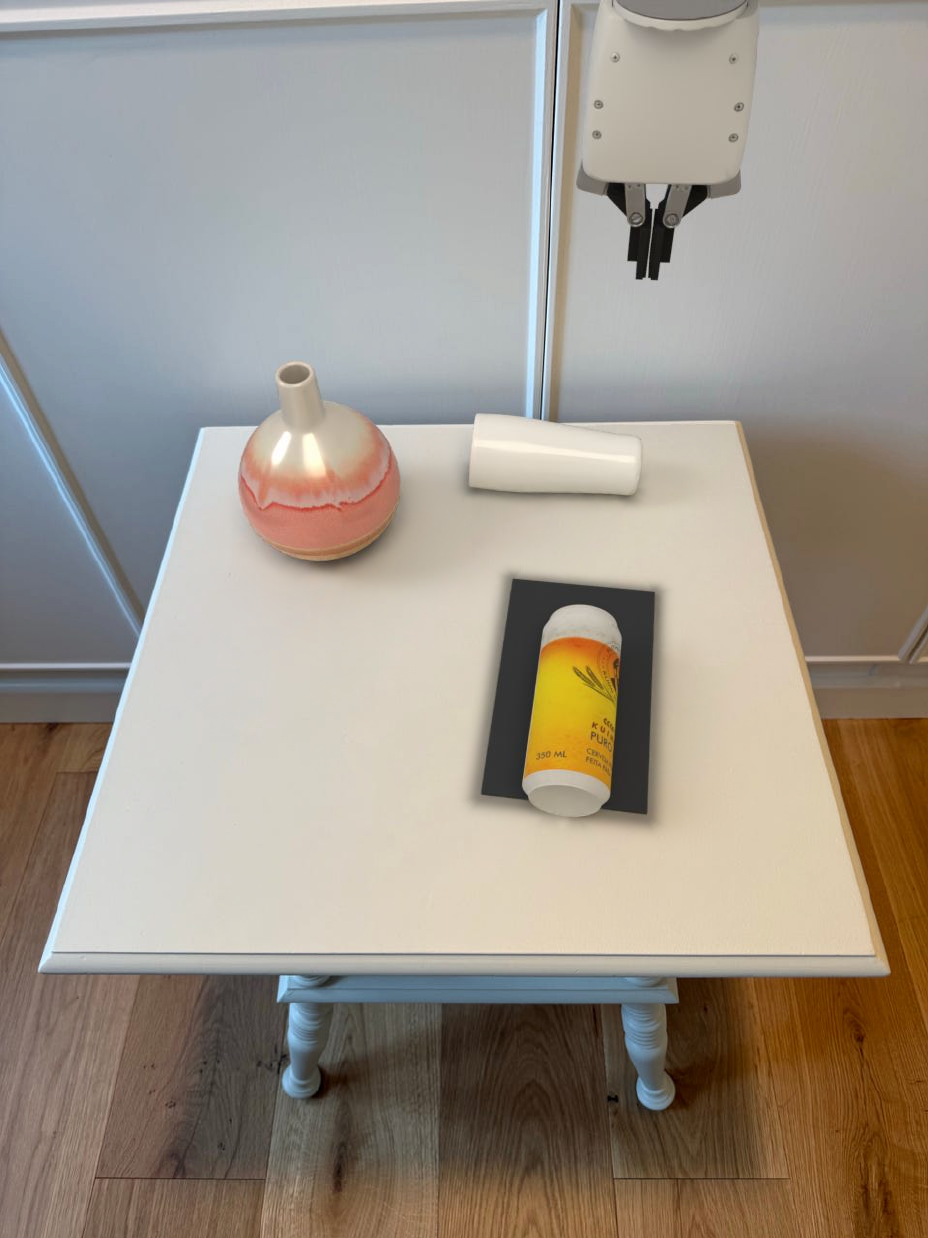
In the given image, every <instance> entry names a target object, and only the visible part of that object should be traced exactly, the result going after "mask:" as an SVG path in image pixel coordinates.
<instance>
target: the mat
mask: <svg viewBox="0 0 928 1238" xmlns="http://www.w3.org/2000/svg"><path fill="white" fill-rule="evenodd" d="M509 595H510V596H509V603H508V609H507V615H506V623H505V628H504V635H503V641H502V642H503V643H502V649H501V657H500V661H499V670H498V676H497V682H496V690H495V696H494V701H493V702H494V703H493V709H492V710H493V711H492V716H491V722H490V723H491V724H490V731H489V737H488V742H487V743H488V745H487V750H486V758H485V765H484V771H483V778H482V784H481V790H480V795H481V796H482V795H483V796H490V797H498V798H506V799H507V798H508V799H516V800H523V801H529V798H528V795H527V794H526V793H525V791H524V790H523V787H522V782H523V775H524V768H525V760H526V753H527V745H528V738H529V730H530V723H531V716H532V708H533V701H534V693H535V686H536V679H537V671H538V664H539V656H540V649H541V641H542V634H543V629H544V627H545V625H546V624H547V623H548V621H549V620H550V617H551V616H552V614H553V613H554V612H555V611H557V610H558V609H560V608H563V607H566V606H570V605H589V606H594V607H597V608H600V609H602V610H604V611H606V612H608V613H609V614H610V615H611V616H612V617H613V618H614V619H615V621H616V623H617V627H618V629H619V631H620V634H621V637H622V641H621V655H620V668H619V681H618V695H617V708H616V722H615V735H614V749H613V762H612V776H611V789H610V797H609V799H608V800H607V802H605V803H604V804H603V805H602V806H601V808H600V809H599V810H606V811H612V812H613V811H614V812H623V813H630V814H631V813H632V814H637V815H639V814H640V815H647V814H648V802H649V801H648V799H649V776H650V775H649V774H650V773H649V772H650V747H651V746H650V745H651V744H650V742H651V719H652V718H651V715H652V689H653V688H652V687H653V657H654V630H655V628H654V627H655V602H656V601H655V599H656V591H653V590H651V591H650V590H642V589H641V590H640V589H629V588H619V587H607V586H597V585H595V586H594V585H587V584H586V585H585V584H576V583H564V582H555V581H554V582H553V581H546V580H545V581H543V580H533V579H523V578H512V581H511V589H510V594H509Z"/></svg>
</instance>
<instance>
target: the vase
mask: <svg viewBox="0 0 928 1238" xmlns="http://www.w3.org/2000/svg"><path fill="white" fill-rule="evenodd" d="M316 373H317V372H316V370H315V368H314V367H313V366H312V365H311V364H310V363H308V362H305V361H303V360H302V361H301V360H293V361H289V362H286V363H284V364H282V365H281V366H279V367H278V368H277V369H276V371H275V374H274V382H275V387H276V391H277V396H278V401H279V406H280V408H279V409H278V410H275V411H274V412H272V414H270V415H269V416H268V417H266V419H264V420H263V421H262V422H261V423H260V424H259V425H258V426H257V427H256V428H255V430H254V431H253V432H252V434H251V435H250V437H249V438H248V440H247V441H246V443H245V446H244V448H243V451H242V454H241V456H240V460H239V465H238V471H237V489H238V496H239V501H240V504H241V508H242V511H243V513H244V515H245V517H246V519H247V521H248V523H249V525H250V527H251V528H252V529H253V530H254V532H255V533H256V534H257V536H259V537H260V538H261V540H263V541H264V542H265V543H266V544H268V545H269V546H270V547H271V548H273V549H275V550H277V551H279V552H280V553H282V554H285V555H288V556H290V557H293V558H295V559H299V560H303V561H304V560H305V561H314V562H324V561H325V562H327V561H334V560H339V559H343V558H346V557H349V556H351V555H353V554H357V553H358V552H360V551H362V550H364V549H365V548H367V547H368V546H369V545H371V544H372V543H374V541H376V540H377V539H378V538H379V537H380V536H381V535H382V533H384V532H385V531H386V529H387V527H388V526H389V524H390V523H391V522H392V520H393V518H394V516H395V514H396V511H397V509H398V505H399V501H400V497H401V488H402V487H401V484H402V483H401V474H400V468H399V461H398V460H397V457H396V454H395V452H394V449H393V447H392V445H391V444H390V442H389V440H388V439H387V437H386V436H385V434H384V433H383V432H382V430H381V429H380V427H378V426H377V425H376V423H374V422H373V421H372V420H371V419H370V418H369V417H367V416H366V415H364V414H363V413H361V412H359V411H358V410H356V409H354V408H352V407H350V406H348V405H345V404H342V403H338V402H335V401H331V400H324V399H323V398H322V394H321V389H320V385H319V382H318V377H317V374H316Z"/></svg>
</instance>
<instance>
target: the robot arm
mask: <svg viewBox="0 0 928 1238" xmlns="http://www.w3.org/2000/svg"><path fill="white" fill-rule="evenodd" d="M759 34H760V0H600V2H599V6H598V10H597V14H596V18H595V23H594V29H593V34H592V39H591V40H592V41H591V48H590V55H589V63H588V70H587V72H588V73H587V80H586V81H587V82H586V92H585V104H584V114H583V124H582V125H583V126H582V141H581V146H582V147H581V160H580V163H579V167H578V170H577V175H576V181H575V182H576V183H575V185H576V188H577V189H578V190H580V191H582V192H586V193H590V194H594V195H597V196H601V197H603V196H606V197H607V198H608V199H609V200H610V201H611V202H612V203H613V204H614V205H615V207H617V208H618V210H619V211H620V212H621V213H622V214H623V215H624V216H625V217H626V220H627V224H628V225H629V227H630V228H629V235H628V244H627V245H628V246H627V257H626V258H627V259H626V262H633V263H634V262H635V263H636V264H635V265H636V266H635V278H634V279H635V280H636V281H643V279H646V278H648V279H650V281H659V275H660V270H661V269H660V268H661V264H663V263H664V264H670V263H671V257H672V251H673V244H674V235H675V229H676V228H677V227H678V226H679V225H680V224H681V223H682V219H683V218H684V217H685V216H687V215H688V214H689V213H691V212H692V211H693V210H695V209H696V208H697V207H698V206H699V205H701V204H702V203H704V202H705V201H706V200H708V199H710V200H714V199H718V198H725V197H729V196H734V195H737V194H738V193H740V191H741V190H742V176H741V174H742V173H741V168H742V164H743V159H744V154H745V150H746V144H747V138H748V133H749V126H750V119H751V112H752V107H753V106H752V105H753V97H754V91H755V80H756V71H757V58H758V57H757V55H758V41H759ZM647 185H666V188H665V191H664V195H663V199H661V201H659V202H658V204H657V208H652V207H651V204H652V203H651V201H650V200H649V199H648V197H647ZM653 209H654V213H653ZM647 271H648V273H647ZM647 274H648V275H647Z"/></svg>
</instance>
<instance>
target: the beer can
mask: <svg viewBox="0 0 928 1238" xmlns="http://www.w3.org/2000/svg"><path fill="white" fill-rule="evenodd" d="M621 641H622V637H621V634H620V631H619V629H618V627H617V623H616V621H615V619H614V618H613V617H612V616H611V615H610V614H609V613H608V612H606V611H604V610H602V609H600V608H597V607H594V606H589V605H570V606H566V607H563V608H560V609H558V610H557V611H555V612H554V613H553V614H552V616H551V617H550V620H549V621H548V623H547V624H546V625H545V627H544V629H543V634H542V641H541V649H540V656H539V664H538V671H537V679H536V686H535V693H534V701H533V708H532V716H531V723H530V730H529V738H528V745H527V753H526V760H525V768H524V775H523V782H522V787H523V790H524V791H525V793H526V794H527V795H528V798H529V800H528V801H529V802H530V804H532V805H533V806H534V807H535V808H537V809H538V810H541V812H545V813H547V814H551V815H554V816H555V815H556V816H560V817H568V818H578V817H579V818H580V817H587V816H591V815H594V814H595V813H597V812H599V811H600V810H601V809H600V808H601V806H602V805H603V804H604V803H605V802H607V800H608V799H609V797H610V789H611V776H612V762H613V749H614V735H615V722H616V708H617V695H618V681H619V668H620V655H621Z"/></svg>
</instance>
